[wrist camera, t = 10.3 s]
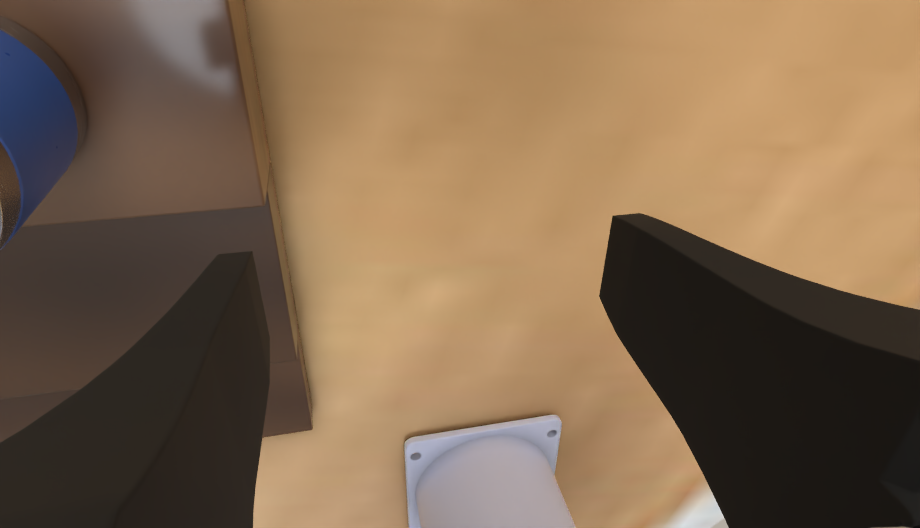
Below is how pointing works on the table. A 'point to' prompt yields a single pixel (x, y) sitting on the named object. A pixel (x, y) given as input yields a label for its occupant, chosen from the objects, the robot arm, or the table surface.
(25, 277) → the step shelf
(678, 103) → the table surface
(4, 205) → the can
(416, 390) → the table surface
